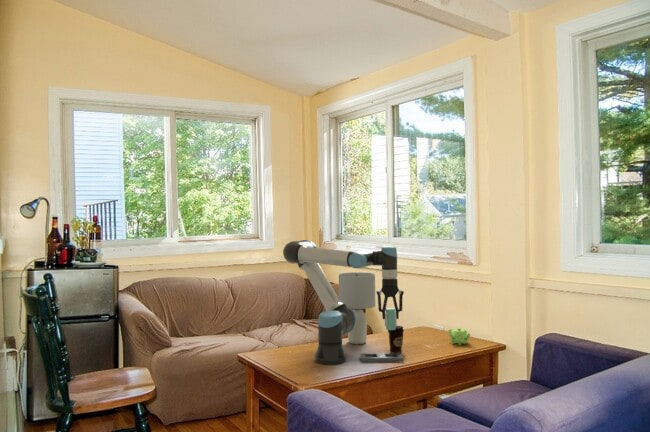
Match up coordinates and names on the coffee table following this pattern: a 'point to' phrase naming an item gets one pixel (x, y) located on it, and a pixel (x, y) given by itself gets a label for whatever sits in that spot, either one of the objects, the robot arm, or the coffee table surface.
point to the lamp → (357, 300)
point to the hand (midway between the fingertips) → (390, 325)
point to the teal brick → (390, 318)
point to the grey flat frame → (381, 357)
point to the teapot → (459, 336)
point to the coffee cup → (396, 339)
